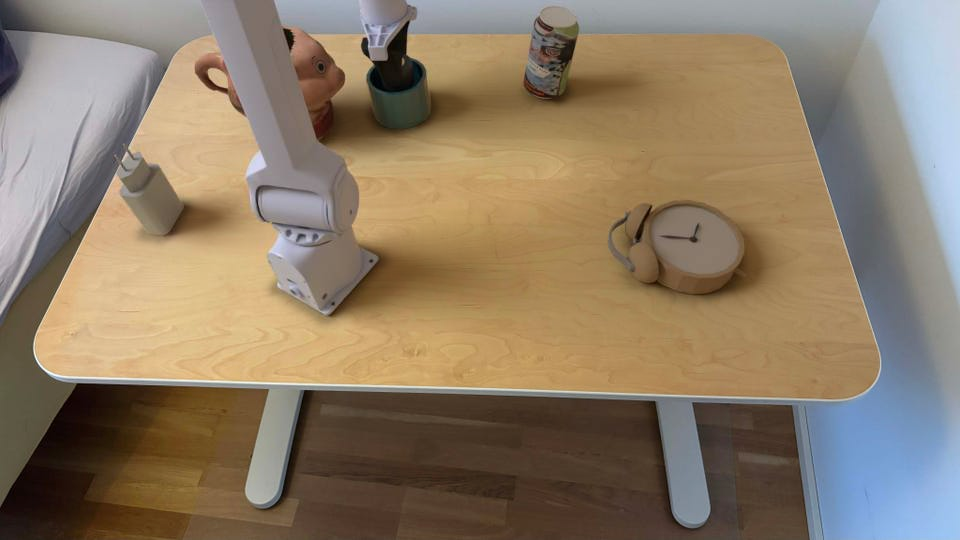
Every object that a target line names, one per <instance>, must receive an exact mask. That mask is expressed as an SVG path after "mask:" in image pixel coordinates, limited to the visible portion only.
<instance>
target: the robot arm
mask: <svg viewBox="0 0 960 540" xmlns="http://www.w3.org/2000/svg"><path fill="white" fill-rule="evenodd" d="M199 2H200V5H201V7H202V10H203V12H204V14H205V17H206V20H207V22H208V24H209V27H210V29H211V32H212V34H213V37H214V39H215V42H216V45H217V47H218V50H219V53H221V54H222V57H223V59H224V62H225V64H226V67H227V69H228V72H229V74H230V77H231V79H232V82H233V84H234V87H235V89H236V92H237V94H238V97H239V99H240V102H241V104H242V107H243V109H244V112H245V114H246V117H247V118H246V117H245V118H246V119H247V122H248V124H249V126H250V129H251V132H252V135H253V136H254V139H255V141H256V145H257V146H258V149H259V150H258V151H257V152H256V153H255V154H254V156H253V157H252V159H251V161H250V162H249V164H248V167H247V170H246V173H245V176H244V178H245V181H246V183H247V185H248V190H249V203H250V207H251V210H252V212H253V214H254V216H255V218H256V219H257V220H258V221H259V222H261V223H267V224H269V223H271V226H272V228H273V230H274V231H276V232H279V233H278V236H277V239H276V241H275V242H274V244H273V246H271V248H269V251H268V252H267V254H266V259H267V262H268V264H269V266H270V268H271V270H272V272H273V273H274V274H273V275H274V276H275V278H276V279H277V284H276V285H277V288H278V289H279V290H281V291H283V292H285V293H286V294H288V295H289V296H292V297H293V298H295V299H297V300H299V301H300V302H302V303H304V304H305V305H307V306H309V307H310V308H312V309H314V310H316V311H317V312H319V313H321V314H323V315H325V316H329V315H331V314H332V313H333V312H334V311H335V310H336V309H337V308H338V307H339V305H340V304H341V303H342V302H343V301H344V300H345V299H346V298H347V297H348V296H349V295H350V293H351V292H352V291H353V290H354V289H355V288H356V286H357V285H358V284H360V282H361V281H362V280H363V279H364V278H365V276H366V275H368V273H370V271H371V270H372V268H373V267H374V266H376V264H377V263H378V262H379V259H380V258H379V256H378V255H377V254H375V253H373V252H371V251H369V250H367V249H365V248H364V247H361V246H359V244H358V241H357V238H356V235H355V231H354V229H353V224H354V223H355V221H356V218H357V215H358V211H359V207H360V206H359V205H360V189H359V185H358V182H357V180H356V179H355V177H354V175H353V174H352V173H351V172H350V171H349V169H348V167H347V162H346V159H345V158H344V157H343V156H341V155H340V154H338V153H337V152H335V151H334V150H332V149H330V148H329V147H327V146H326V145H324V144H323V143H322V142H320V140H318V141H317V139H316V135H315V132H314V129H313V126H312V122H311V119H310V116H309V113H308V109H307V106H306V103H305V100H304V96H303V93H302V90H301V87H300V83H299V80H298V77H297V74H296V70H295V67H294V64H293V61H292V57H291V54H290V51H289V48H288V44H287V41H286V38H285V35H284V31H283V28H282V25H283V24H282V23H281V19H280V16H279V12H278V9H277V6H276V3H275V0H199ZM358 4H359V10H360V14H359V16H360V20H361V24H362V27H363V29H364V30H363V31H364V33H365V36H366V37H362V40H361V43H360V48H361V53H362V54H363V55H364V57H366V58H367V59H369V60H370V62H371V63H372V64H373V65H375V67H376V68H377V70H378V72H379V74H380V76H381V78H382V80H383V82H384V83H385V85H386V86H401V82H402V58H403V55H404V54H406V55H408V54H407V53H408V32H409V26H410V23H411V21H415V20H417V18H418V8H417V7H416V6H412V5H410V4H408V2H407V0H358Z"/></svg>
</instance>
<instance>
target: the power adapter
mask: <svg viewBox="0 0 960 540" xmlns="http://www.w3.org/2000/svg"><path fill="white" fill-rule="evenodd" d="M122 147H123V148H124V149H125V151H126V153H127V154H128V155H127V156H126V157H125V158H124V160H123V161H122V160H121V159H120V157H119V156H118V154H114V158H115V159H116V160H117V162H118V164H119V166H118V169H117V170H116V175H117V177H118V178H119V180H120V181H121V183H122V186H121V187H120V188H119V191H118V194H119V196H120V197H121V198H122V200H123V201H124V203H125V204H126V205H127V207H128V208H129V210H130V211H131V213H132V214H133V215H134V217H135V218H136V219H137V221H138V222H139V224H140V225H141V226H142V228H143V229H144V231H145V232H146V233H147V234H148V235H152V236H167V235H168V234H170V232H171V230H172V229H173V227H174V225H175V223H176V222H177V220H178V218H179V217H180V215H181V213H182V212H183V210H184V207H185V206H184V203H183V202H182V200H181V199H180V197H179V196H178V194H177V192H176V191H175V189H174V187H173V186H172V184H171V183H170V181H169V179H168V178H167V176H166V174H165V172H164V171H163V169H162V168H161V166H160V165H159V164H157V163H150V162H147V160H146V159H145V157H144V155H142V153H141V152H140V151H135V152H133V153H132V152H131V150H130V149H129V148H128V146H127V145H126V143H123V144H122Z"/></svg>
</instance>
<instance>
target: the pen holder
mask: <svg viewBox="0 0 960 540" xmlns="http://www.w3.org/2000/svg"><path fill="white" fill-rule="evenodd" d="M410 58H411V61H412V68H413V74H414V80H415V81H414V84H413V86H412V87H411V88H410V89H408V90H405V91H402V92H390V91H388V90H386V89H385V88H384V87H383V84H382V79H381V76H380V74H379V72H378V70H377V68H376V67H375V65H374V64H373V65H372V66H371V67H370V68H369V69H368V71H367V73H366V77H365V82H366V86H367V91H368V95H369V99H370V103H371V108H372V111H373V115H374V118H375V120H376V121H377V122H378V123H379V124H380V125H382V126H383V127H385V128H389V129H393V130H404V129H411V128H413V127H416V126H418V125H420V124H422V123H423V122H425V120H426V119H428V117H429V116H430V114H431V112H432V102H431V101H432V100H431V94H430V86H429V78H428V72H427V69H426V67H425V65H424V64H423V63H422V62H421V61H420V60H418V59H415V58H414V57H410Z"/></svg>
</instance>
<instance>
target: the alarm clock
mask: <svg viewBox="0 0 960 540" xmlns="http://www.w3.org/2000/svg"><path fill="white" fill-rule="evenodd" d="M652 209H653V204H650V203H645V202H641V203H640V204H639V203H638V205H636V206H635V207H633V208H632V210H630V211H629V212H627V211H625V212H624V214H623V215H624V217H622V218H620V219H618V220H616V221H615V222H614V223H613V224H612V226H611V227H610V230H609V233H608V235H607V245H608V249H609V252H610V253H611V254H612V256H613V257H614V258H615V259H616V260H617V261H619V262H620V263H622V264H623V265H624V266H625V267H627V271H629V272H630V273H631V275H632V276H633V278H635V279H636V280H638V281H639V282H641V283H644V284H651V283H654V282H658V283H659V284H661V285H662V286H665V287H666V288H669V289H670V290H674V291H675V292H679V293H685V294H690V295H698V294H699V295H701V294H709V293H711V292H714V291H716V290H719V289H721V288H723V287H724V286H725V285H726V284H727V283H728V282H730V280H731V279H732V277H733V275H734V274H736V275H738V276H740V277H742V278H745V276H746V275H747V274H746V273H745V272H744V271H743V270H742V269H740V268H738V267H739V265H740V263H741V262H742V259H743V257H744V255H745V240H744V237H743V235H742V232H741V230H740V228H739V226H738V225H737V224H736V222H734V220H732V218H731V217H729V216H728V215H727V214H726V213H725V212H722V211H721V210H720V209H719V208H717V207H714V206H712V205H709V204H708V203H705V202H701V201H697V200H696V201H695V200H689V199H681V200H680V199H679V200H671V201H668V202H665V203H662V204H659V205H658V206H657V207H656V208H654V209H653V210H652ZM623 224H624V231H625V235H626V237H627V238H628V239H629V240H630V241H632V243H633V245H632V246H631V247H630V248H629V250H628V252H627V257H626V256H625V255H623V254H622V253H620V252H619V250H618V249H617V248H616V247H615V246H616V245H615V244H614V242H613V232H614V231H615V229H617V228H618V227H620V226H622V225H623Z"/></svg>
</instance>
